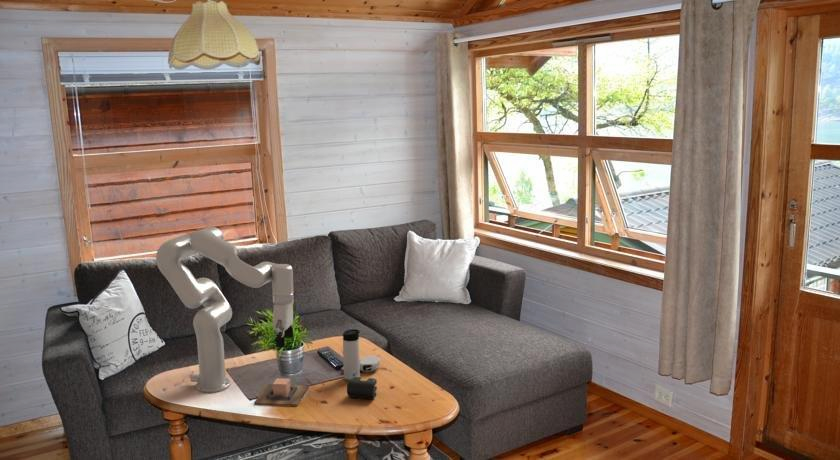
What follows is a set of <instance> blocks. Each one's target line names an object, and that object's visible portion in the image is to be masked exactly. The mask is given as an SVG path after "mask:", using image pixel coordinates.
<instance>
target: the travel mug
mask: <svg viewBox="0 0 840 460" xmlns="http://www.w3.org/2000/svg"><path fill="white" fill-rule="evenodd" d="M360 332H361V331H360V330H359V329H348V330H347V329H346V330H345V331H344V332H342V346H343V347H342V350H343V352H342V353H343V355H342V356H343V363H344V365H343V367H344V370H343V379H344V381H346V382H348V381H349V380H352V379H353V378H354V377H360V378H361V372H360V371H361V370H360V363H359V359H360Z"/></svg>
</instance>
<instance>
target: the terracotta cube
mask: <svg viewBox="0 0 840 460" xmlns="http://www.w3.org/2000/svg"><path fill="white" fill-rule="evenodd" d="M272 384H273V395H288V394H289V393H290V385H291V379H290V378H278V377H277V378H276V379H275V380H274V381H273V383H272Z"/></svg>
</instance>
